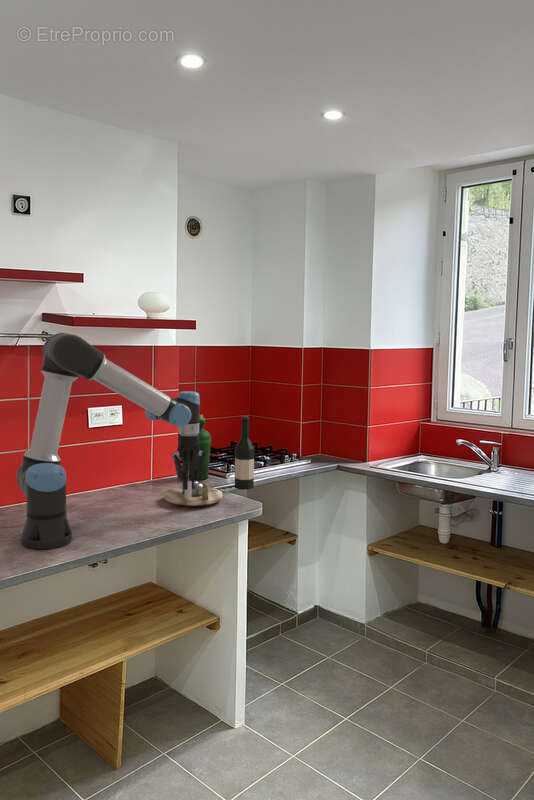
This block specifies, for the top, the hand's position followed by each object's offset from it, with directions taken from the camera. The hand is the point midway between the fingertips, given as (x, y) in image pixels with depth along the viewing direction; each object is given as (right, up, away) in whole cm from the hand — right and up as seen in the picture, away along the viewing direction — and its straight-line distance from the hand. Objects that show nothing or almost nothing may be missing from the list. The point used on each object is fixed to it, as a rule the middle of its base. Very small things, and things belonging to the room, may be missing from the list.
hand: (188, 497), depth 239 cm
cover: (+1, 0, +11) cm, 11 cm away
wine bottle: (+19, -1, +34) cm, 39 cm away
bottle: (-1, +1, +47) cm, 47 cm away
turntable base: (+1, -3, +12) cm, 12 cm away
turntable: (+1, -2, +12) cm, 12 cm away
